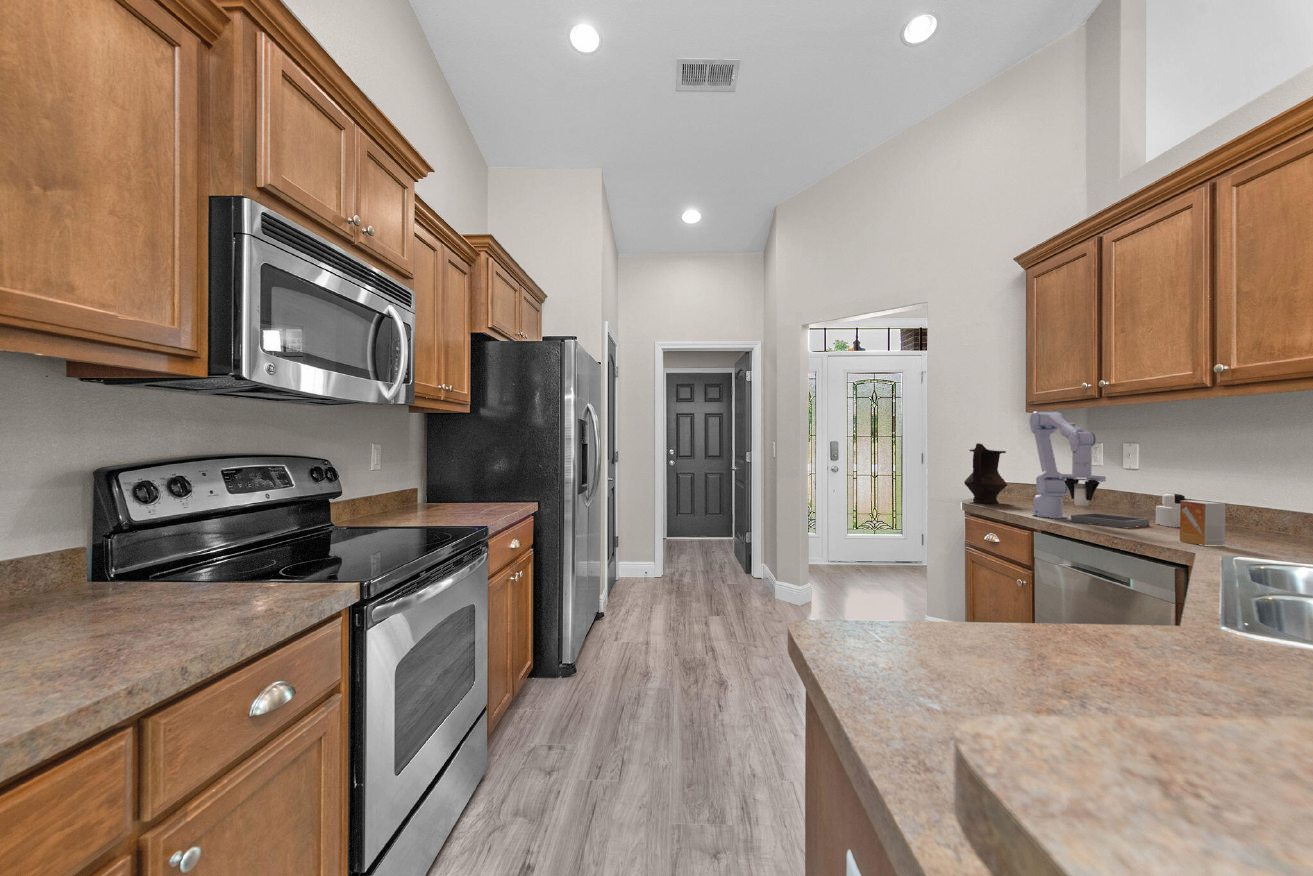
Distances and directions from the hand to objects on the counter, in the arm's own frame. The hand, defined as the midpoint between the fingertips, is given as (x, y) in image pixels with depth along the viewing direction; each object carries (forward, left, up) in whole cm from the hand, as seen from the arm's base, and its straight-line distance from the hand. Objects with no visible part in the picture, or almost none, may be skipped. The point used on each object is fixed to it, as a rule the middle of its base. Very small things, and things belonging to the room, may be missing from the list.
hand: (1081, 499), depth 206 cm
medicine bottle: (+16, +28, -10) cm, 34 cm away
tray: (+3, +12, -9) cm, 16 cm away
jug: (-59, +34, -10) cm, 69 cm away
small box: (+37, -10, -10) cm, 40 cm away
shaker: (0, 0, -2) cm, 2 cm away
